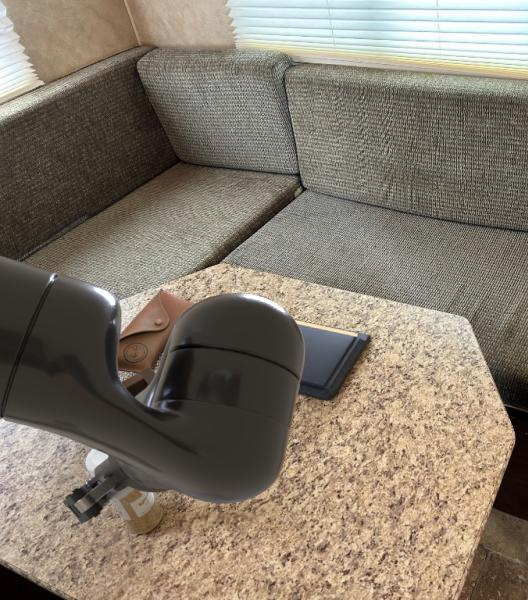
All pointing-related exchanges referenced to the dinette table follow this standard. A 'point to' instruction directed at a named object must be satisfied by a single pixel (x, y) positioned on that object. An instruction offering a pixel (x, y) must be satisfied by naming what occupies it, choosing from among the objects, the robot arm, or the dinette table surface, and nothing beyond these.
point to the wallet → (328, 358)
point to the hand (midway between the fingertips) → (137, 458)
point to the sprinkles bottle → (131, 502)
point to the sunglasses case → (149, 332)
